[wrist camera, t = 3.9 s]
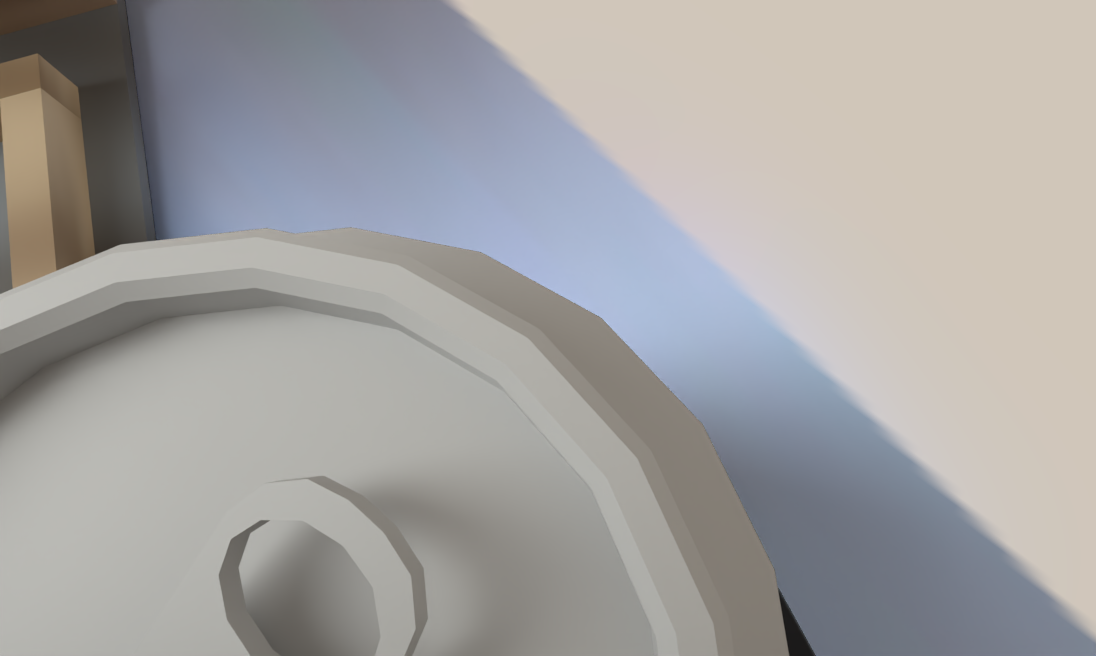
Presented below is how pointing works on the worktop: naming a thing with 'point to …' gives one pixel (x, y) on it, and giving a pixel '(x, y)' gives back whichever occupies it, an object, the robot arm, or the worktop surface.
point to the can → (352, 464)
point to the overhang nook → (68, 137)
